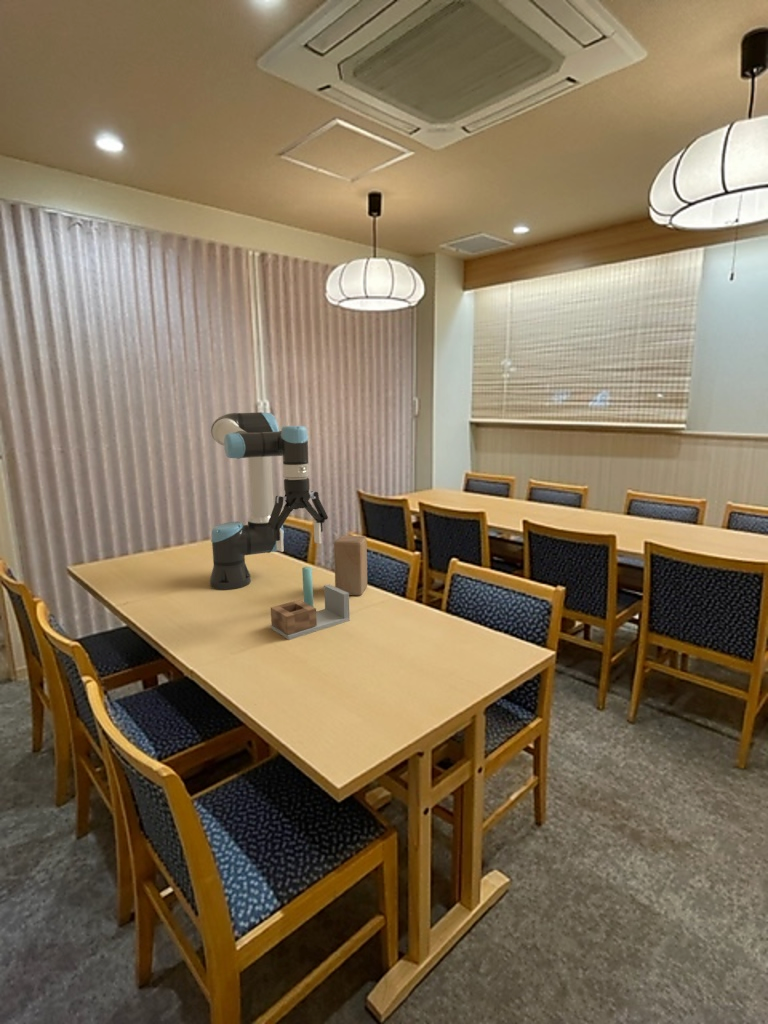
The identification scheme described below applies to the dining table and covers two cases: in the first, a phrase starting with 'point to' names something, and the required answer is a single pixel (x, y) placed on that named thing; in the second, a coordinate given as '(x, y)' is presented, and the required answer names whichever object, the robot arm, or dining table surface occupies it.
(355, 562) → the block
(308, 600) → the teal dowel
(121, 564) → the dining table surface
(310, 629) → the grey l-shaped bracket
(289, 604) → the walnut block
